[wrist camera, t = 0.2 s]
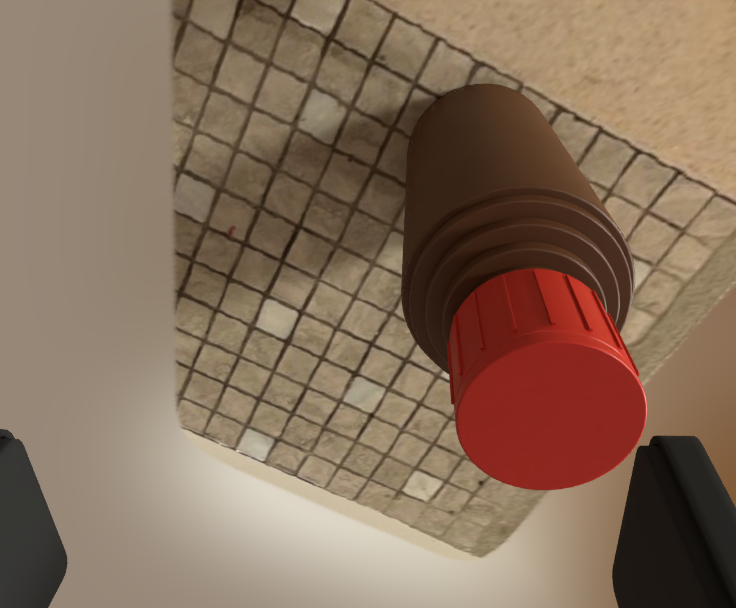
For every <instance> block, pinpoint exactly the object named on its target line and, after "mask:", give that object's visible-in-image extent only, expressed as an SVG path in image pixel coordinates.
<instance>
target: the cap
mask: <svg viewBox="0 0 736 608" xmlns="http://www.w3.org/2000/svg"><path fill="white" fill-rule="evenodd" d="M447 350H448V364H449V378H450V392H451V404H454V411H455V424H456V431H457V435H458V439H459V442H460V444H461V446H462V448H463V450H464V452H465V453H466V454H467V456H468V457H469V459H470V460H471V461H472V462H473V463H474V464H475V465H476V466H477V467H478V468H479V469H481V470H482V471H483V472H484V473H486V474H487V475H489V476H491V477H492V478H494V479H496V480H499V481H501V482H503V483H506V484H509V485H512V486H515V487H520V488H524V489H533V490H556V489H564V488H569V487H574V486H577V485H581V484H584V483H587V482H589V481H592V480H594V479H596V478H598V477H600V476H602V475H604V474H606V473H607V472H609V471H610V470H612V469H614V468H615V467H616V466H617V465H619V464H620V463H621V462H622V461H623V460H624V459H625V458H626V457H627V456H628V455H629V454H630V453H631V451H632V450H633V449H634V447H635V446H636V444H637V443H638V441H639V439H640V437H641V435H642V432H643V430H644V427H645V423H646V417H647V402H646V396H645V392H644V389H643V386H642V384H641V382H640V380H639V378H638V376H639V372H638V370H637V368H636V366H635V364H634V362H633V360H632V358H631V356H630V354H629V352H628V350H627V348H626V346H625V344H624V342H623V340H622V338H621V336H620V334H619V332H618V330H617V328H616V326H615V324H614V322H613V320H612V318H611V316H610V314H607V313H606V311H605V309H604V307H603V305H602V303H601V301H600V300H599V298H598V296H597V294H596V292H595V291H594V290H591V289H590V288H589V287H587V286H586V285H585V284H583V283H582V282H580V281H579V280H577V279H575V278H573V277H571V276H570V275H568V274H564V273H561V272H557V271H552V270H546V269H523V270H516V271H512V272H508V273H505V274H502V275H499V276H497V277H495V278H493V279H491V280H489V281H487V282H485V283H484V284H482V285H481V286H479V287H478V288H477V289H475V290H474V291H473V292H472V293H471V294H470V295H469V296H468V297H467V298H466V299H465V301H464V302H463V303H462V305H461V306H460V307H459V309H458V311H457V313H456V315H454V316H453V322H452V325H451V330H450V337H449V341H447Z"/></svg>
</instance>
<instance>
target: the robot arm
mask: <svg viewBox="0 0 736 608" xmlns="http://www.w3.org/2000/svg"><path fill="white" fill-rule="evenodd" d="M66 568H67V555H66V552H65V549H64V547H63V544H62V541H61V539H60V536H59V534H58V531H57V529H56V526H55V524H54V521H53V519H52V516H51V514H50V511H49V508H48V506H47V503H46V501H45V498H44V496H43V493H42V491H41V488H40V485H39V483H38V480H37V478H36V475H35V473H34V470H33V468H32V465H31V463H30V460H29V458H28V455H27V452H26V450H25V447H24V445H23V443H22V442H21V441H20V440H19V439H15V438H14V436H13V435H12V433H11V432H9V431H8V430H4V429H0V608H48V607H49V605H50V603H51V601H52V599H53V597H54V595H55V593H56V592H57V590H58V588H59V586H60V584H61V582H62V580H63V578H64V576H65V573H66ZM612 573H613V574H612V575H613V576H612V578H613V587H614V593H615V597H616V600H617V603H618V607H619V608H736V508H735V506H734V504H733V502H732V500H731V498H730V497H729V494H728V492H727V491H726V489H725V487H724V485H723V483H722V481H721V479H720V477H719V475H718V473H717V472H716V470H715V468H714V466H713V464H712V462H711V460H710V458H709V456H708V455H707V453H706V451H705V449H704V447H703V445H702V443H701V442H700V440H699V439H698V438H697V437H695V436H653V437H652V439H651V440H650V444H649V446H639V447H638V449H637V452H636V457H635V462H634V467H633V471H632V476H631V481H630V486H629V491H628V496H627V501H626V506H625V511H624V515H623V520H622V526H621V530H620V535H619V540H618V545H617V550H616V554H615V559H614V564H613V571H612Z"/></svg>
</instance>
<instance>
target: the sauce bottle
mask: <svg viewBox="0 0 736 608" xmlns="http://www.w3.org/2000/svg"><path fill="white" fill-rule="evenodd" d="M523 269H546V270H552V271H557V272H561V273H564V274H568V275H570V276H571V277H573V278H575V279H577V280H579V281H580V282H582V283H583V284H585V285H586V286H587V287H589V288H590V289H591V290H594V291H595V292H596V294H597V296H598V298H599V300H600V301H601V303H602V305H603V307H604V309H605V311H606V313H607V314H610V316H611V318H612V320H613V322H614V324H615V326H616V328H617V330H618V332H619V334H620V332H621V330H622V328H623V326H624V324H625V322H626V319H627V316H628V313H629V310H630V307H631V303H632V300H633V294H634V288H635V270H634V263H633V258H632V255H631V252H630V248H629V246H628V244H627V242H626V240H625V238H624V236H623V234H622V232H621V231H620V229H619V228H618V226H617V225H616V223H615V222H614V220H613V219H612V217H611V216H610V214H609V213H608V211H607V210H606V208H605V207H604V205H603V204H602V202H601V201H600V199H599V198H598V196H597V195H596V193H595V192H594V190H593V189H592V187H591V186H590V184H589V183H588V181H587V180H586V179H585V177H584V176H583V174H582V173H581V171H580V170H579V168H578V167H577V165H576V164H575V162H574V161H573V159H572V158H571V156H570V155H569V153H568V152H567V150H566V149H565V147H564V146H563V144H562V143H561V141H560V140H559V138H558V137H557V135H556V134H555V132H554V131H553V129H552V128H551V126H550V125H549V123H548V122H547V120H546V119H545V117H544V116H543V114H542V113H541V112H540V110H539V109H538V108H537V107H536V105H535V104H534V103H533V102H532V101H530V100H529V99H528V98H527V97H525V96H524V95H522V94H521V93H519V92H517V91H515V90H513V89H510V88H508V87H504V86H500V85H495V84H474V85H468V86H464V87H461V88H458V89H456V90H453V91H451V92H449V93H447V94H445V95H444V96H442V97H441V98H439V99H438V100H437V101H435V102H434V103H433V104H432V105H431V106H430V107H429V108H428V109H427V110H426V111H425V112H424V113H423V115H422V116H421V118H420V119H419V120H418V122H417V124H416V126H415V128H414V130H413V132H412V135H411V138H410V142H409V146H408V154H407V174H406V197H405V219H404V241H403V263H402V286H401V295H402V307H403V313H404V317H405V320H406V323H407V326H408V328H409V330H410V332H411V334H412V336H413V338H414V339H415V341H416V342H417V344H418V345H419V347H420V348H421V349H422V350H423V351H424V352H425V354H426V355H427V356H428V357H429V358H430V359H431V360H433V361H434V363H435V364H436V365H438V366H439V367H440V368H441V369H442V370H444V371H445V372H446V373H448V374H449V364H448V350H447V341H449V337H450V330H451V325H452V322H453V316H454V315H456V313H457V311H458V309H459V307H460V306H461V305H462V303H463V302H464V301H465V299H466V298H467V297H468V296H469V295H470V294H471V293H472V292H473V291H474V290H475V289H477V288H478V287H479V286H481V285H482V284H484V283H485V282H487V281H489V280H491V279H493V278H495V277H497V276H499V275H502V274H505V273H508V272H512V271H516V270H523Z"/></svg>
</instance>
